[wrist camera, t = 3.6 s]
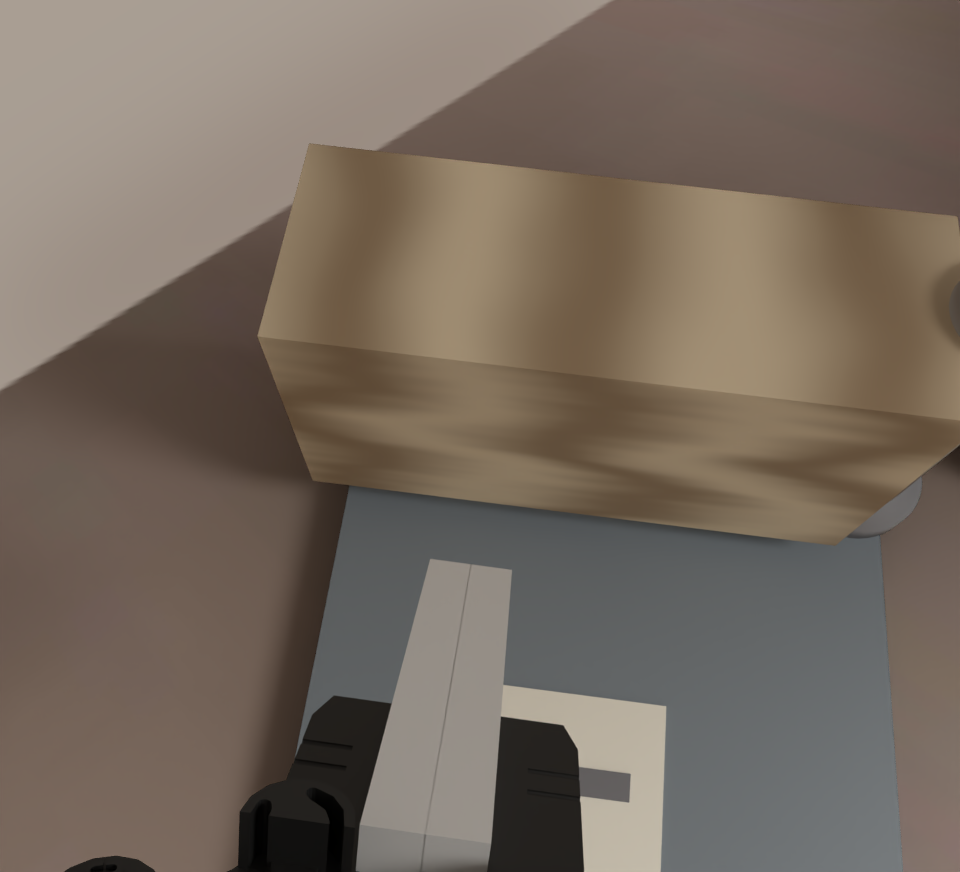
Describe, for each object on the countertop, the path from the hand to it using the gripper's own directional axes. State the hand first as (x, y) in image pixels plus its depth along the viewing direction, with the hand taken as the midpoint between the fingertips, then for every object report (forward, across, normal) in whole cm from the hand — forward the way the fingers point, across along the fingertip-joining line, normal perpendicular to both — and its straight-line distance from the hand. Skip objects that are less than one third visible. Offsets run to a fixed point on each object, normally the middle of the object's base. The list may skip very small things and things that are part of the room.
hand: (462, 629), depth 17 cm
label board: (+13, +4, -6) cm, 15 cm away
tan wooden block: (+15, +4, -1) cm, 15 cm away
